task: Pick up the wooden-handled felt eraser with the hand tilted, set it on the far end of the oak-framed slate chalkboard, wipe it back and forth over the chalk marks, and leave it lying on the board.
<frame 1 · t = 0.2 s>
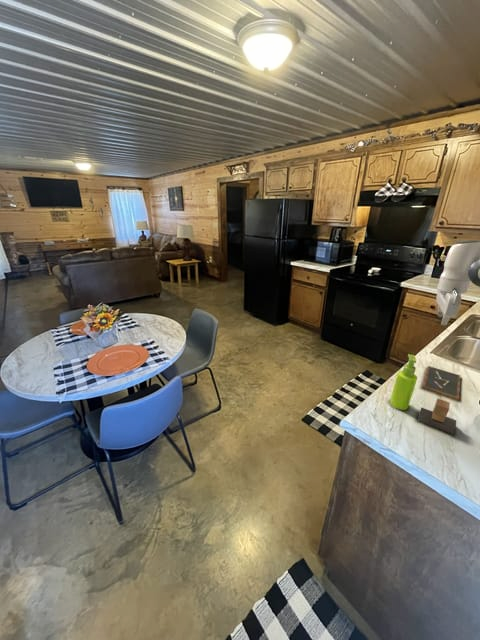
hand: (441, 320, 102), 28 cm above the counter, tool pointing down, fingers open, 8 cm apart
chalkboard: (441, 382, 111), on the counter
eraser: (435, 423, 90), on the counter
soap dispenser: (398, 403, 99), on the counter
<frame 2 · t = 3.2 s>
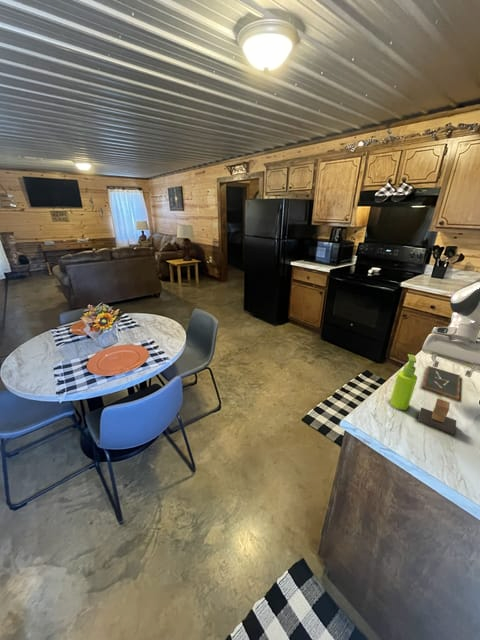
hand: (451, 371, 93), 15 cm above the counter, tool tilted 45°, fingers open, 8 cm apart
nothing on the counter moved.
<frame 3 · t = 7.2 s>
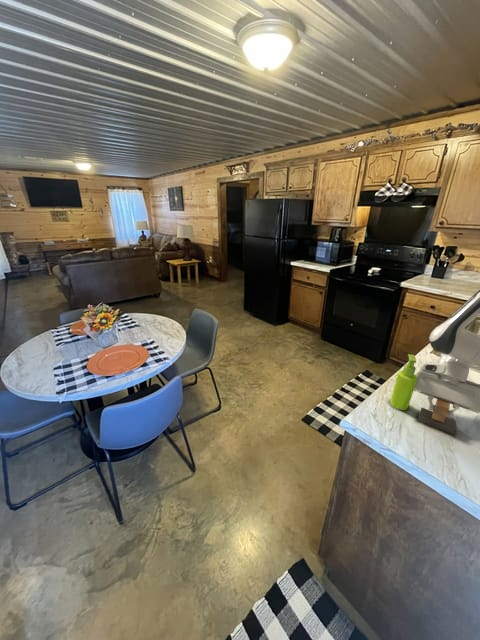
hand: (439, 413, 87), 5 cm above the counter, tool tilted 45°, fingers closed on eraser, 3 cm apart
eraser: (435, 423, 90), on the counter, touching gripper
everything else where it was.
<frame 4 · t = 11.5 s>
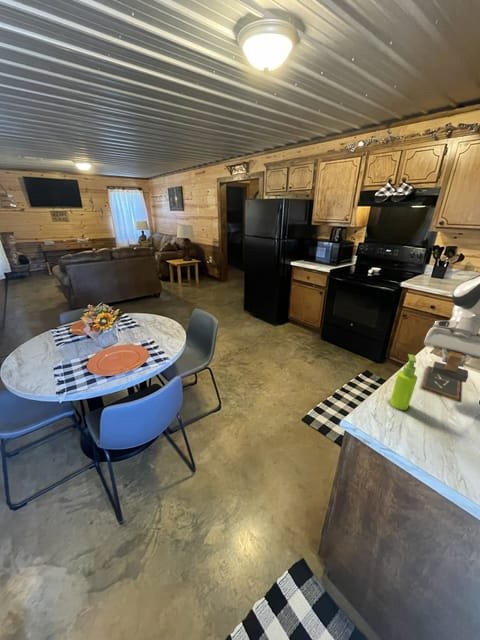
hand: (452, 363, 95), 16 cm above the counter, tool tilted 45°, fingers closed on eraser, 3 cm apart
eraser: (448, 374, 97), point 12 cm above the counter, touching gripper
everything else where it was.
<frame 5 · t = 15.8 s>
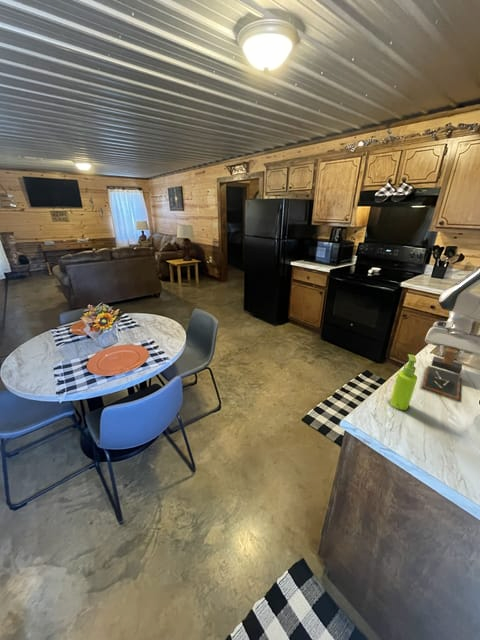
hand: (448, 358, 112), 10 cm above the counter, tool tilted 45°, fingers closed on eraser, 3 cm apart
eraser: (445, 367, 114), point 5 cm above the counter, touching gripper
everything else where it was.
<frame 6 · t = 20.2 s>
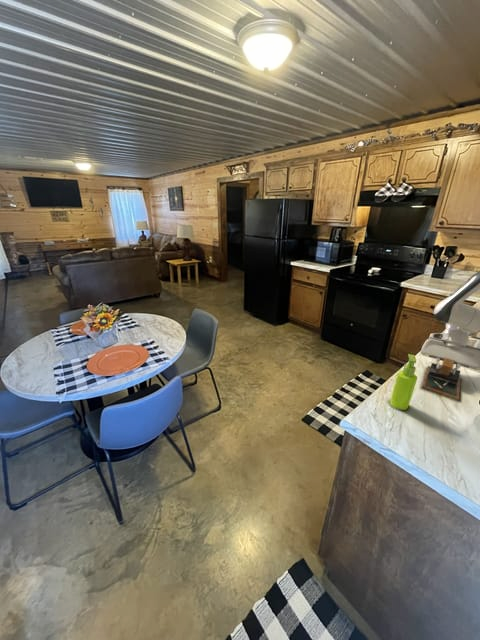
hand: (445, 371, 109), 6 cm above the counter, tool tilted 45°, fingers closed on eraser, 3 cm apart
eraser: (443, 374, 113), point 2 cm above the counter, tilted 26°, touching gripper
everything else where it was.
when the fingers open (5 cm above the counter, at t = 24.2 s): eraser drops 1 cm, resting on chalkboard.
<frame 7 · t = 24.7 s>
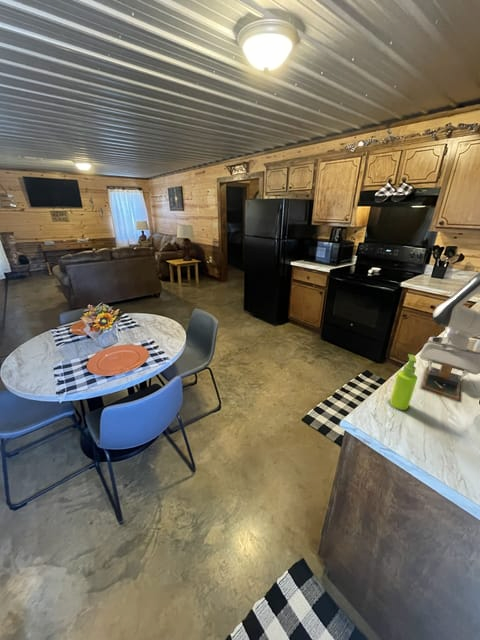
hand: (444, 375, 107), 5 cm above the counter, tool tilted 45°, fingers open, 8 cm apart
eraser: (441, 380, 111), point 1 cm above the counter, touching chalkboard
everything else where it was.
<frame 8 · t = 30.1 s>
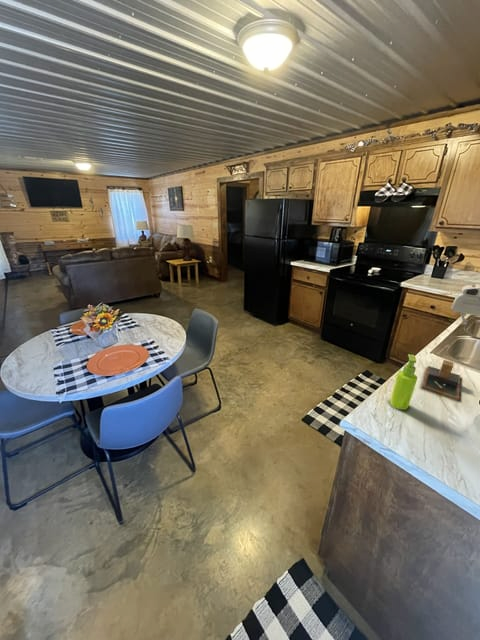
hand: (479, 327, 98), 27 cm above the counter, tool pointing down, fingers open, 8 cm apart
nothing on the counter moved.
at the end: eraser 3.3 cm from the target spot on the chalkboard, point 1.0 cm above the chalkboard's base; eraser tilted 0°; eraser touching chalkboard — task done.
